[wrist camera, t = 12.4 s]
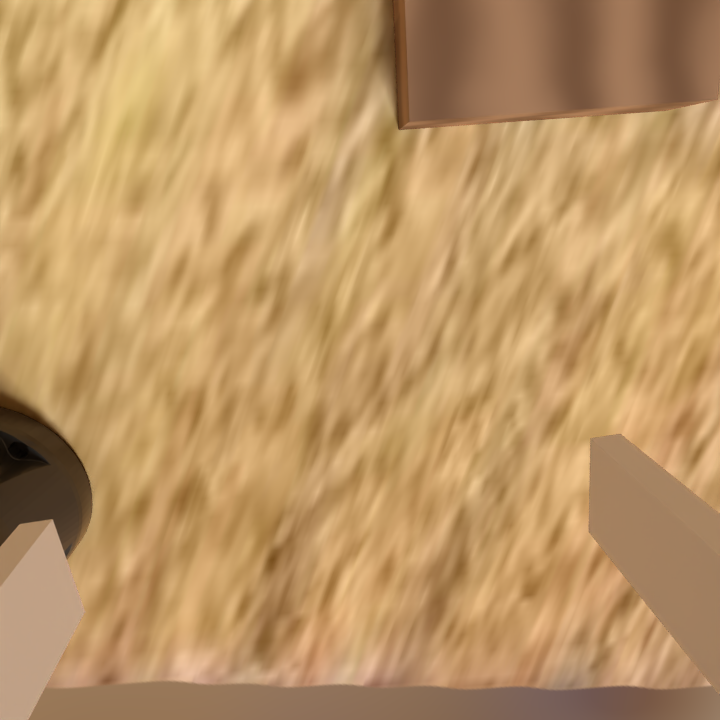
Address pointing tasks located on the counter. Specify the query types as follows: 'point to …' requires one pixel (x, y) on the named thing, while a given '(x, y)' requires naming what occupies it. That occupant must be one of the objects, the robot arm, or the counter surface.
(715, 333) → the counter surface
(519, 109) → the socket block
